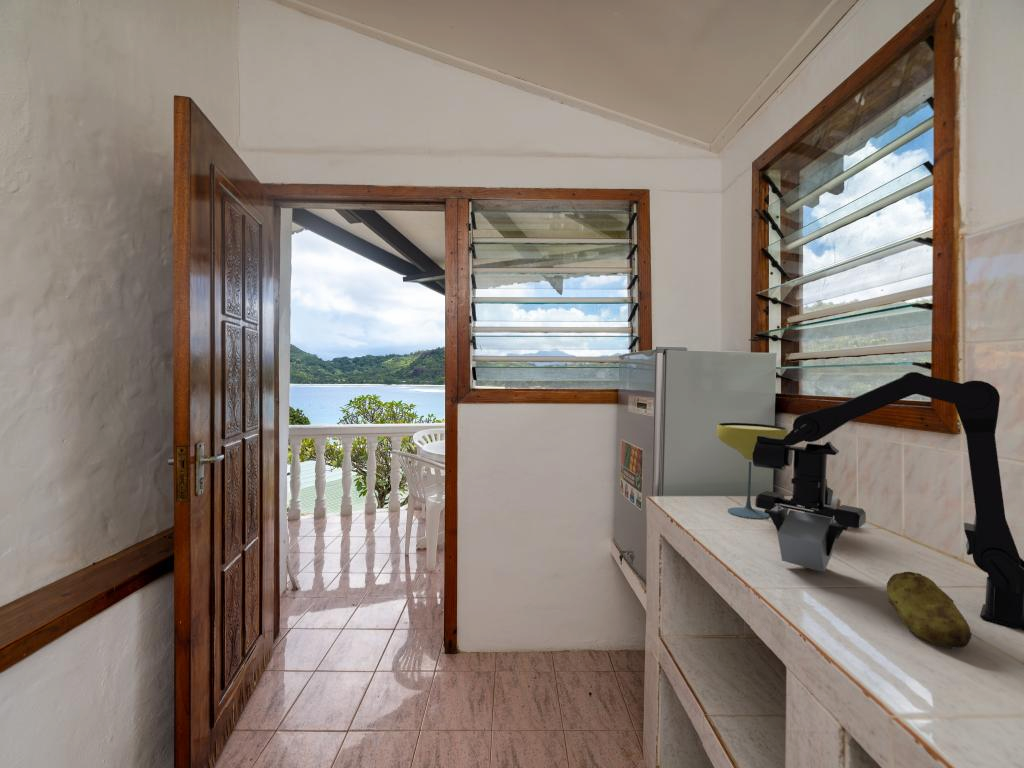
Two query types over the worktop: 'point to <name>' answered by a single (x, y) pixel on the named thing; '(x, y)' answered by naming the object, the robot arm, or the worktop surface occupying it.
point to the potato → (927, 610)
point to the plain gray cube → (805, 540)
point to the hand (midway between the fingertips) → (806, 549)
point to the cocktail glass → (747, 453)
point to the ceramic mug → (834, 504)
